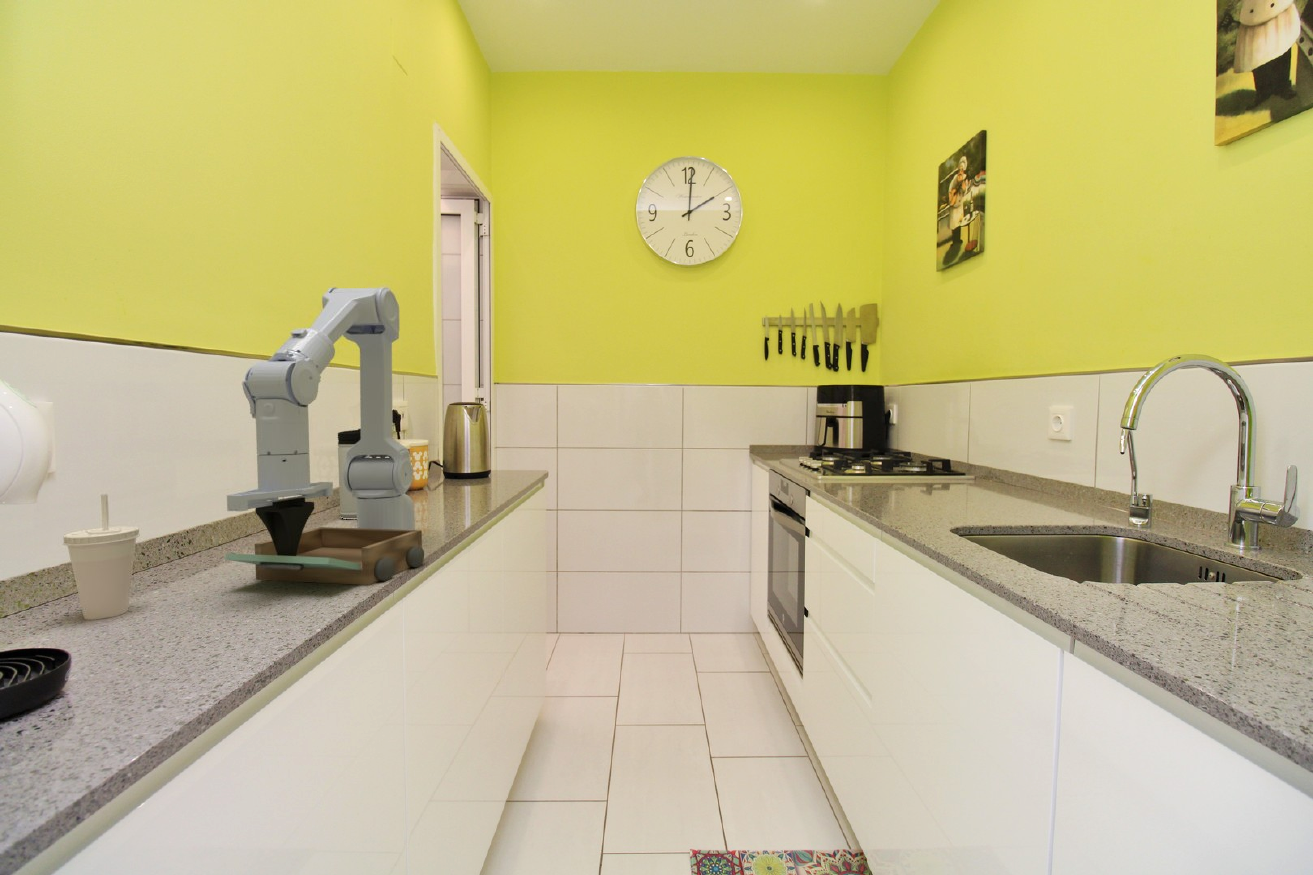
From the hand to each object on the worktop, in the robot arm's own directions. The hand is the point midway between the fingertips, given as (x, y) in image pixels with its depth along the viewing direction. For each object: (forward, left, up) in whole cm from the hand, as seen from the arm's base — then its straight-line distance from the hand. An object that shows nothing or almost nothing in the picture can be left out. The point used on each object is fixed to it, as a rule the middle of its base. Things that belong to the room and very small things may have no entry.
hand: (286, 558), depth 75 cm
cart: (-10, 0, -4) cm, 11 cm away
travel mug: (-50, -30, -5) cm, 58 cm away
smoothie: (+11, -14, -5) cm, 18 cm away
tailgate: (-4, 0, -2) cm, 4 cm away
